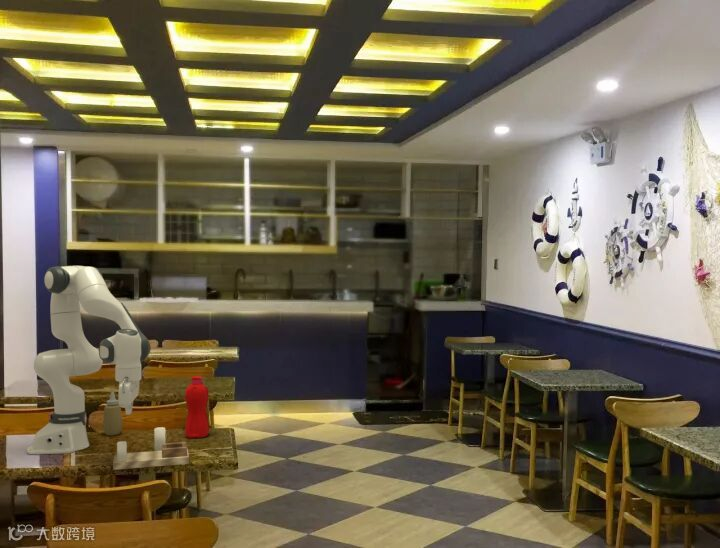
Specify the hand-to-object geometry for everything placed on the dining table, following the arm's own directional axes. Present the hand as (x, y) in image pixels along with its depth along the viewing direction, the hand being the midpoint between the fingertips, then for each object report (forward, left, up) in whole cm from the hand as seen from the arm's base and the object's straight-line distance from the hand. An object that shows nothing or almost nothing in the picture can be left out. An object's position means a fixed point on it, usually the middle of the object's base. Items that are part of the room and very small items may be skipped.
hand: (128, 413), depth 253 cm
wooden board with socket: (+8, +3, -19) cm, 21 cm away
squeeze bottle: (-8, +52, -19) cm, 56 cm away
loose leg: (+11, +17, -19) cm, 28 cm away
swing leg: (-2, +2, -16) cm, 17 cm away
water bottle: (+27, +38, -19) cm, 51 cm away
